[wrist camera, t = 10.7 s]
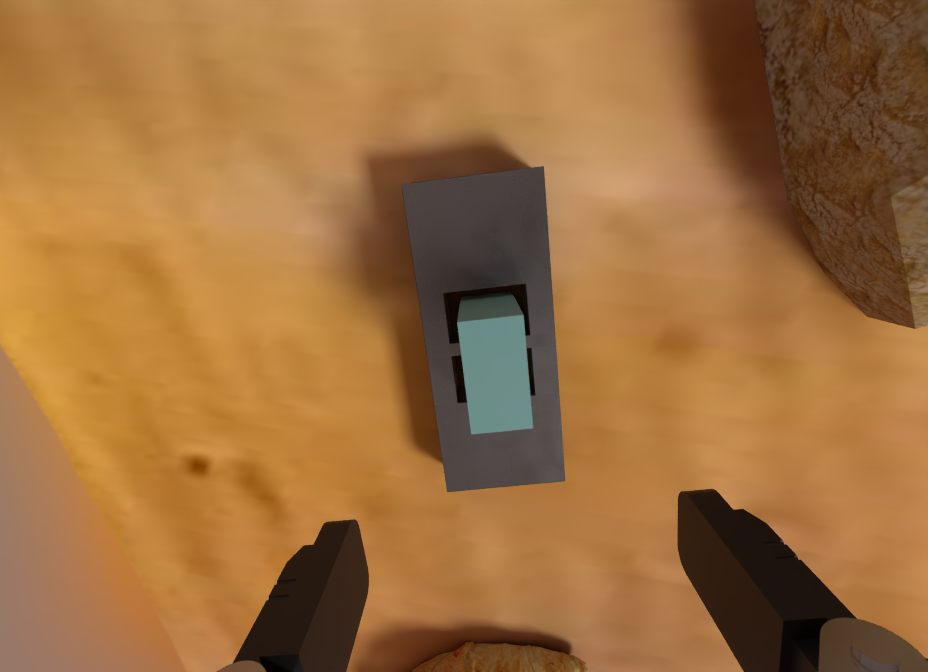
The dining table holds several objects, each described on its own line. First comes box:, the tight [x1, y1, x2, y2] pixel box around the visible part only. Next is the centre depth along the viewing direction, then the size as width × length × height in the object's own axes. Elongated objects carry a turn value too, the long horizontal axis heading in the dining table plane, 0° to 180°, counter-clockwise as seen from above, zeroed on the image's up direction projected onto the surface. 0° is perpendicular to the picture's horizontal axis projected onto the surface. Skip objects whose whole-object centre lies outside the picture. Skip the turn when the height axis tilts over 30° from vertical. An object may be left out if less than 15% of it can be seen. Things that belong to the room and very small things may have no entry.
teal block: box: [457, 292, 533, 434], centre depth 26 cm, size 6×3×8 cm, turn 7°
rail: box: [402, 166, 565, 492], centre depth 29 cm, size 20×8×3 cm, turn 7°
